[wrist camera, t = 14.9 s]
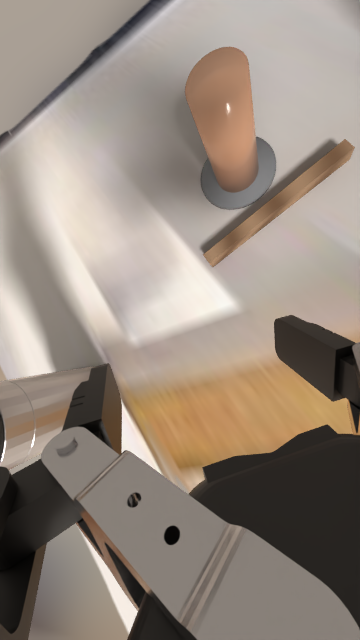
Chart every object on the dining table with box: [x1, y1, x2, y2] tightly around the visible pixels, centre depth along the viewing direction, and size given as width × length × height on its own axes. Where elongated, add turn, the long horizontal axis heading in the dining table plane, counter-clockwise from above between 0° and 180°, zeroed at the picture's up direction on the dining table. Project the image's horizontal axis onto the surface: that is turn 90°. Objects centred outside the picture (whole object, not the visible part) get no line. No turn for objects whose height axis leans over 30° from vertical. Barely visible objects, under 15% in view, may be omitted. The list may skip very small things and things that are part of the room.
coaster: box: [201, 137, 276, 210], centre depth 34 cm, size 10×10×1 cm
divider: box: [203, 139, 355, 267], centre depth 31 cm, size 20×2×2 cm, turn 125°
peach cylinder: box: [185, 47, 259, 193], centre depth 27 cm, size 6×6×13 cm
